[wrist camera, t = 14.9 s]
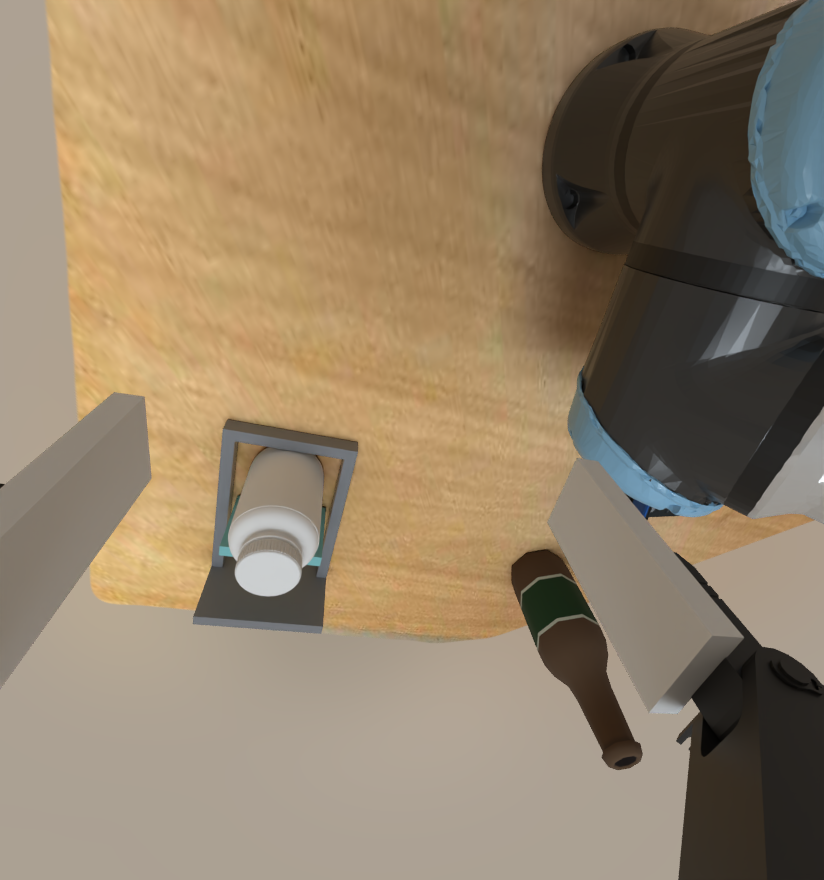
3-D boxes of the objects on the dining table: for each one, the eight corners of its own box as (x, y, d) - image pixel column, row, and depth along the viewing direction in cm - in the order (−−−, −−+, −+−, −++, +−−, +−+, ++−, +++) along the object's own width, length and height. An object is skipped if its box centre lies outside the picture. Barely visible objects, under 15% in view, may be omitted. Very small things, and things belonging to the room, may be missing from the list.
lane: (357, 442, 48) (358, 492, 41) (325, 572, 58) (320, 633, 50) (227, 419, 45) (202, 468, 38) (215, 560, 55) (192, 624, 47)
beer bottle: (499, 563, 61) (575, 761, 40) (552, 539, 59) (658, 730, 39) (519, 595, 64) (598, 791, 44) (569, 573, 63) (674, 763, 43)
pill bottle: (334, 491, 51) (328, 596, 39) (266, 507, 51) (237, 617, 39) (312, 433, 47) (297, 528, 34) (239, 450, 47) (196, 552, 34)
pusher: (325, 507, 52) (321, 557, 45) (323, 515, 53) (319, 566, 46) (237, 495, 50) (219, 546, 43) (236, 503, 50) (218, 555, 43)
